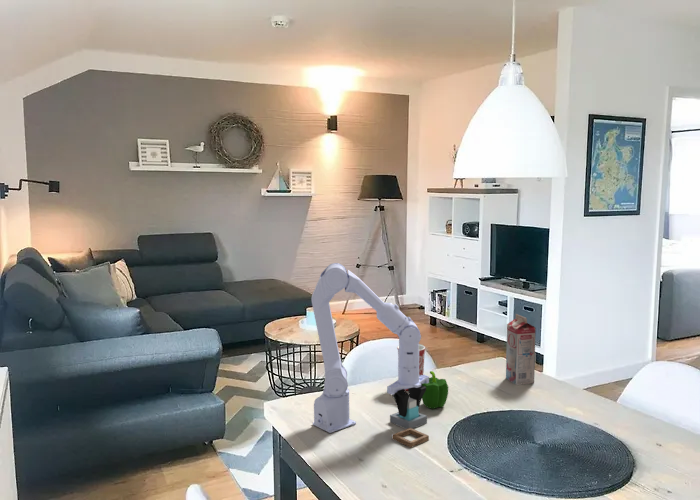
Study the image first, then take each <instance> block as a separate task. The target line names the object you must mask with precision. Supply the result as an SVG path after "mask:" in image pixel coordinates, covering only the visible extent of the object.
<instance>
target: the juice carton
mask: <svg viewBox="0 0 700 500" xmlns="http://www.w3.org/2000/svg"><path fill="white" fill-rule="evenodd" d="M536 332H537V331H536V327H535V326H534V325H532V324H530V323H528V318H527V317H525V316H522V315H520V314H518V313H515V318H514V319H512V320H511V321H510V322H508V323H507V324H506V353H505V354H506V358H505V359H506V360H505V361H506V362H505V379H506V380H508V381H509V382H511V383H512V384H514V385H515V386H517V385H518V386H519V385H528V384H534V383H535V367H536V366H535V365H536V361H535V360H536Z"/></svg>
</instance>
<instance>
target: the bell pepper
mask: <svg viewBox="0 0 700 500" xmlns="http://www.w3.org/2000/svg"><path fill="white" fill-rule="evenodd" d="M429 374H430V375H431V376H430V377H429V383H423V384H422V386H425V387H426V391H425V393H424V395H423V397H422V399H421V401H422V403H423V405H424V407H426V408H428V409H437V408H444V406H445V404H446V402H447V399H448V396H449V385H448V382H447V379H445V378H438V377H436V374H435V372H434V371H433V370H432V371H429Z"/></svg>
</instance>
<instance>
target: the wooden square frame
mask: <svg viewBox="0 0 700 500" xmlns="http://www.w3.org/2000/svg"><path fill="white" fill-rule="evenodd" d="M408 435H412V436H414V437H416V438H415V439H412V440H409V439H408V438H405V437H406V436H408ZM391 438H392V439H391V440H393V441H396V442H398V443H400V444H402V445H404V446H406V447H409V448H413V447H416V446H418V445H421V444H423V443H425V442H428V441H430V436H429V435H428V434H426V433H424V432H421V431H419V430H416V429H415V428H413V429H412V428H408V429H403V430H401V431H398V432H396V433H393V434H392V437H391Z"/></svg>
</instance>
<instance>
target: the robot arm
mask: <svg viewBox="0 0 700 500" xmlns="http://www.w3.org/2000/svg"><path fill="white" fill-rule="evenodd" d="M342 290H344V292H345V293H352V294H356V295H357V296H358V297H359V298H360V299H362V300H363V301H364V302H365V303H366V304H367V305H369V307H371V308H372V309H373V310H374V311H375V312H376V319H377V320H378V321H379V322H380V323H381V324H383V325H384V326H385V327H386V329H388V330H389V331H390V332H391V333H393V334H395V335H397V336H398V338H399V339H398V346H399V349H397V360H398V361H397V366H398V367H397V377H398V378H397V380H396V381H394V382H393V383H392V384H391V383H390V385H388V386H387V385H386V386H387V387H386V393H387V394H389V395H392V397H393V399H394V401H395V405H396V407H397V412H399V415H401V416H403V417H406V415H407V404H408V399H409V398H412V399H415V400H416V406H419V407H420V405H421V401H422V397H423V395H424V393H425V391H426V387H425V386H422V384H423V383H429V378H430V376H429V375H426V374H423V375H421V376H419V345H420V341H421V339H422V335H421V331H420V329H419V328H418V325H417V324H416V323H415V322H414V320H412V317H410V316H406V315H405V314H404V313H403V312H402V311H401V310H400V307H399V305H398V304H397V303H394V304H393V303H392V302H391V301H390V302H388V301H387V302H384V301H383V300H382V299H381V298H380V297H379V296H378V295H377V294H376V293H375V292H374V291H373V290H372V289H371V288H370V287H369V286H368V285H367V284H366V283H365V282H364V281H363V280H362V279H361V278H360V277H358V276H357V275H356V274H355V273H353V272H352V271H351V270H349V269H347V268H346V267H345V266H344V265H343V264H341V263H338V262H334V263H330V264H329V265H328V266H326V267H325V269H324V270H323V271H322V272H321V273H320V275H319V278H318V280H317V282H316V285H315V287H314V290H313V292H312V295H311V306H312V309H313V315H314V320H315V324H316V325H315V326H316V331H317V335H318V340H319V344H320V349H321V354H322V355H321V356H322V358H323V366H324V385H323V387H324V388H323V389H322V393H321V395H320V396H318V397H316V398H315V400H314V402H313V422H312V425H313V426H315V427H317V428H319V429H321V430H323V431H325V432H327V433H329V434H330V433H335V432H337V431H340V430H343V429H345V428H348V427H351V426H354V425H356V424H357V421H355V420H353V419H351V418H350V389H349V388H348V387H349V383H348V371H347V369H346V368H345V367H344V365H343V363H342V359H341V354H340V351H339V346H338V341H337V335H336V330H335V325H334V320H333V314H332V311H331V305H330V304H331V303H330V302H331V301H332V300H333V298H334V297H335V296H336V294H338V293H339V292H341V291H342ZM405 389H408V391H405ZM407 392H408V393H407Z"/></svg>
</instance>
